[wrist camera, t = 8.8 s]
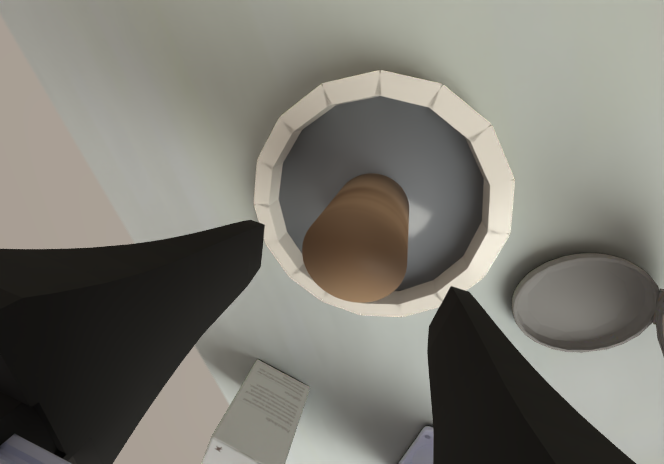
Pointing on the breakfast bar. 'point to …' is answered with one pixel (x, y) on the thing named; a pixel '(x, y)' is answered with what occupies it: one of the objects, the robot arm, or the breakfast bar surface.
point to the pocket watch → (587, 303)
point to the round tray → (401, 166)
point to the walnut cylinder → (360, 240)
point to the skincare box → (259, 419)
